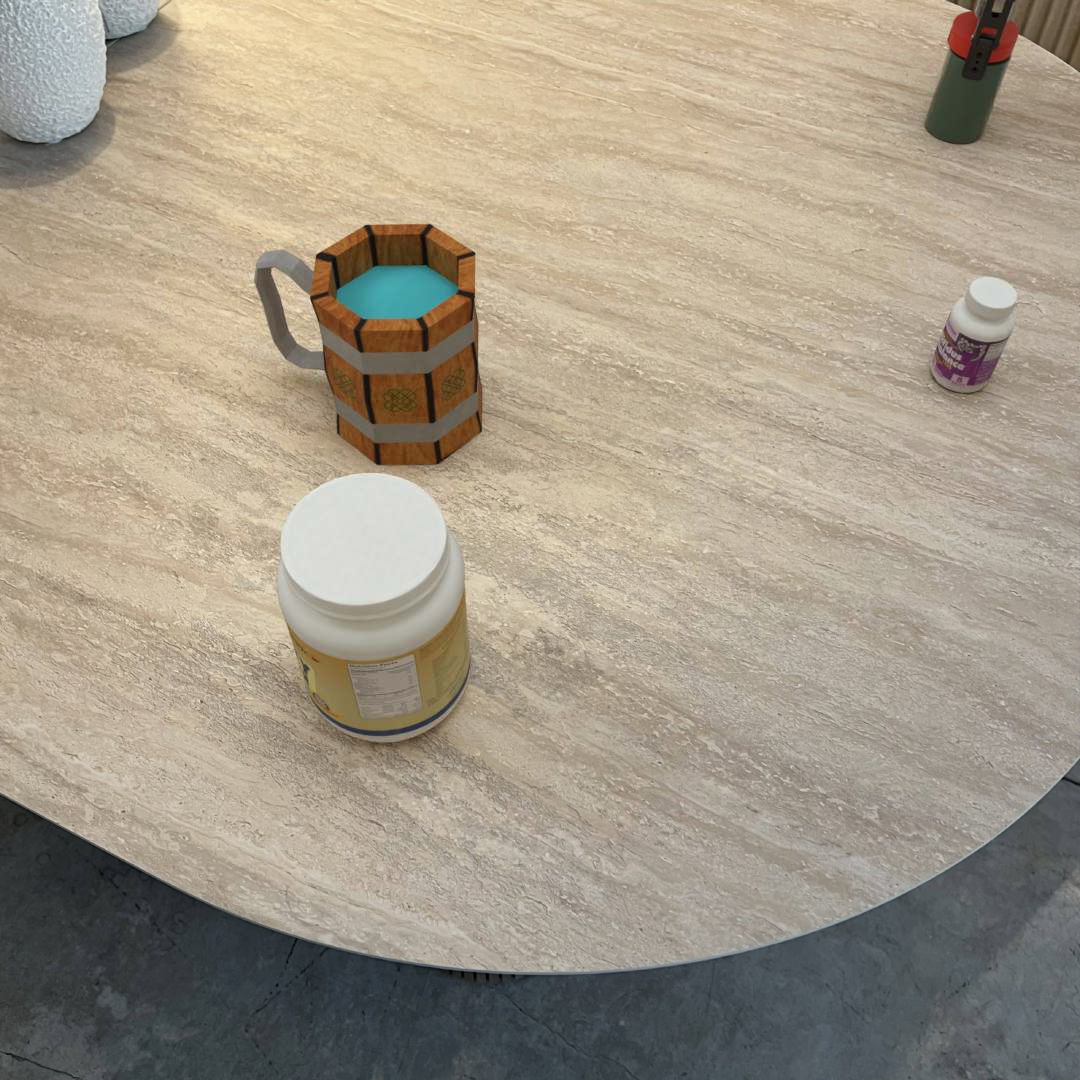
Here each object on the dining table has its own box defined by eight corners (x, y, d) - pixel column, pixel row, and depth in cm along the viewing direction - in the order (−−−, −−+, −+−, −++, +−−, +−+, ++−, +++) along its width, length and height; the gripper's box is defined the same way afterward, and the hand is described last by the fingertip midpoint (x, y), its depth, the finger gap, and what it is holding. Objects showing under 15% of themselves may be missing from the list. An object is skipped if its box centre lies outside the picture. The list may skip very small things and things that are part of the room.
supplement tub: (298, 621, 87) (256, 476, 73) (456, 592, 89) (442, 445, 75) (316, 765, 80) (273, 634, 66) (487, 730, 81) (479, 596, 68)
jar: (977, 112, 129) (1010, 20, 120) (988, 145, 125) (1023, 53, 116) (920, 109, 129) (949, 18, 120) (929, 142, 125) (960, 50, 116)
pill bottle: (916, 371, 104) (947, 288, 96) (953, 345, 106) (986, 261, 98) (964, 404, 101) (1000, 322, 93) (1001, 377, 103) (1039, 294, 96)
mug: (511, 379, 103) (508, 243, 91) (450, 487, 95) (439, 354, 83) (315, 324, 107) (288, 188, 95) (242, 424, 99) (202, 288, 87)
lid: (948, 59, 118) (954, 40, 116) (944, 25, 122) (950, 7, 120) (1015, 65, 117) (1022, 47, 116) (1009, 32, 121) (1016, 13, 120)
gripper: (998, -144, 112) (946, 20, 126) (983, -80, 104) (930, 88, 117) (1077, -131, 111) (1016, 33, 124) (1068, -66, 103) (1005, 103, 116)
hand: (975, 59), depth 121 cm, fingers closed on lid, 6 cm apart
